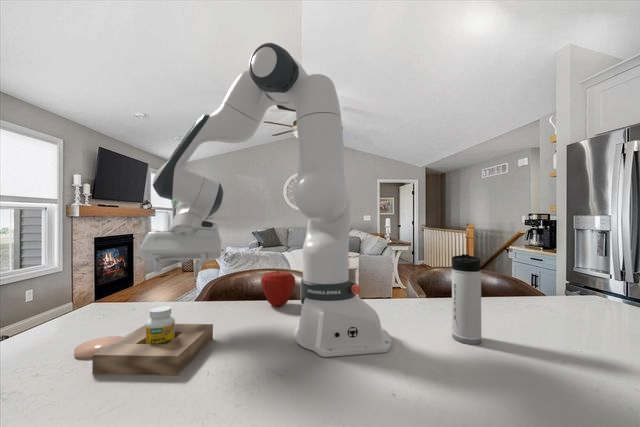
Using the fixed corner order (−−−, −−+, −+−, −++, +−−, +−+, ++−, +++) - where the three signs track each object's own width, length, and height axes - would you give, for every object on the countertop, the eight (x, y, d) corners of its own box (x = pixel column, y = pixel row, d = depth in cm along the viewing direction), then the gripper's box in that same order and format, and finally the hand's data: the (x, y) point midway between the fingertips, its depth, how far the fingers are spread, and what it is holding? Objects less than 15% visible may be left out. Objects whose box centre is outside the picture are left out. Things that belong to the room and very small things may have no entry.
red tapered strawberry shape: (301, 304, 96) (301, 268, 97) (280, 312, 87) (280, 273, 88) (276, 299, 102) (276, 265, 103) (254, 306, 93) (254, 270, 93)
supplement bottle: (173, 346, 64) (173, 303, 64) (176, 356, 60) (176, 309, 60) (144, 352, 61) (145, 307, 61) (145, 363, 57) (146, 314, 57)
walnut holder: (212, 338, 68) (213, 324, 68) (177, 375, 52) (177, 356, 52) (147, 338, 68) (147, 323, 69) (92, 373, 53) (92, 354, 53)
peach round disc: (134, 340, 67) (134, 336, 67) (104, 359, 58) (105, 354, 58) (97, 340, 67) (97, 335, 67) (62, 358, 58) (62, 353, 58)
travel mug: (480, 336, 70) (479, 254, 71) (482, 347, 64) (481, 258, 65) (452, 331, 73) (451, 253, 73) (452, 341, 67) (451, 256, 67)
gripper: (144, 223, 78) (128, 264, 68) (222, 223, 83) (217, 262, 73) (150, 238, 82) (135, 279, 73) (224, 237, 87) (219, 276, 77)
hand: (177, 270), depth 73 cm, fingers open, 8 cm apart
